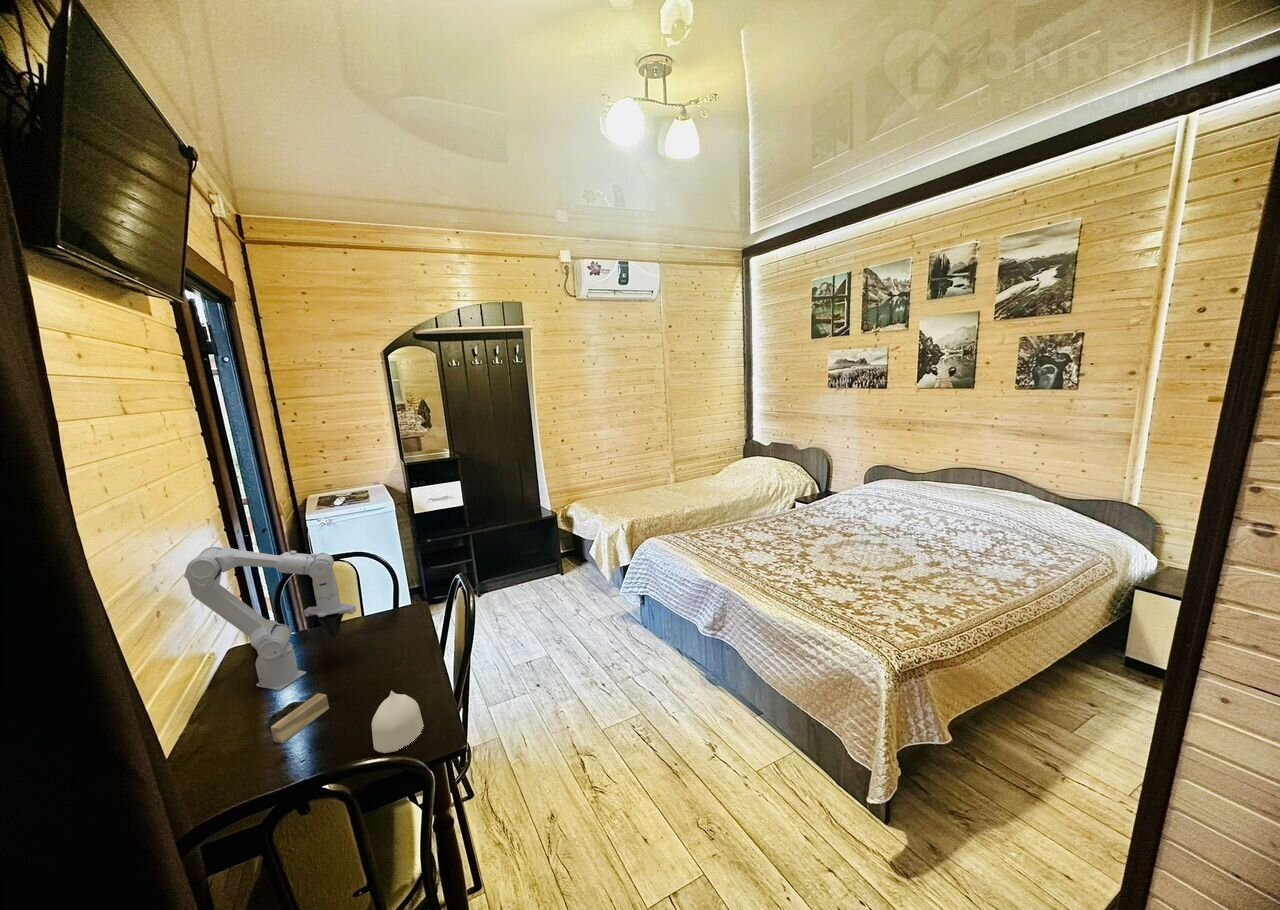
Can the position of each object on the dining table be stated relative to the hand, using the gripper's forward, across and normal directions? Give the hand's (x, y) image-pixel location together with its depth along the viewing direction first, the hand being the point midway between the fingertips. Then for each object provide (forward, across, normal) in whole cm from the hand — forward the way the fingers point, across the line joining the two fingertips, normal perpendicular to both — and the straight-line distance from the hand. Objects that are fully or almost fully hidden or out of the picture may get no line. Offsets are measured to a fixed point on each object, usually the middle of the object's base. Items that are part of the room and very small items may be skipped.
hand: (335, 635), depth 138 cm
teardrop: (+10, +35, -29) cm, 46 cm away
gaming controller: (+10, +3, -23) cm, 25 cm away
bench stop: (+9, +7, -25) cm, 27 cm away
